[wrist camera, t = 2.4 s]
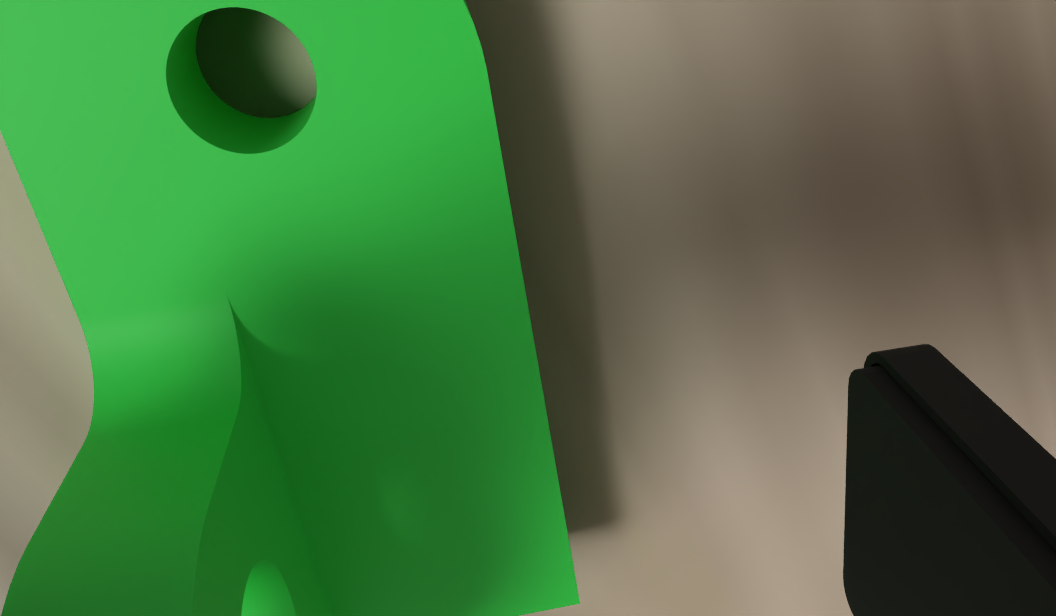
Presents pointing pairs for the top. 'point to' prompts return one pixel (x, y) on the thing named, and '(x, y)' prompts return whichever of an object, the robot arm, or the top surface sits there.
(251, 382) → the mechanical part
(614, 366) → the top surface
